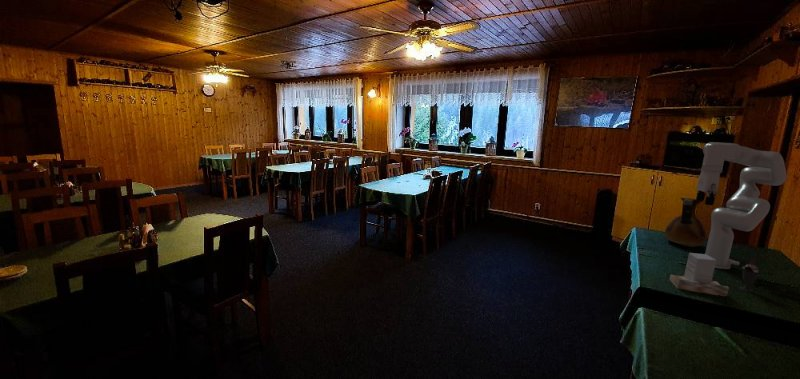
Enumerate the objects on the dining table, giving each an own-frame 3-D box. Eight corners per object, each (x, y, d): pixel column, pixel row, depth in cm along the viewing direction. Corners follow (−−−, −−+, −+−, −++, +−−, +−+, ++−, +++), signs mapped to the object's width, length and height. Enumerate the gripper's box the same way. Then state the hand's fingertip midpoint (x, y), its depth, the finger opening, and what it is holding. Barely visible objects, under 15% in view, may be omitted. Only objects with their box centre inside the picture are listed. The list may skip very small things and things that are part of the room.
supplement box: (701, 278, 162) (706, 254, 160) (711, 286, 155) (717, 260, 152) (683, 276, 164) (688, 252, 161) (692, 284, 157) (698, 258, 154)
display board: (715, 286, 160) (717, 277, 159) (726, 296, 151) (729, 287, 150) (669, 279, 166) (671, 270, 166) (677, 288, 157) (679, 279, 156)
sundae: (750, 287, 160) (758, 258, 157) (759, 294, 154) (768, 263, 151) (732, 285, 162) (740, 255, 159) (741, 291, 156) (749, 261, 153)
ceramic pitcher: (704, 244, 216) (714, 198, 209) (702, 253, 201) (713, 204, 195) (665, 236, 229) (674, 193, 222) (661, 244, 214) (670, 198, 208)
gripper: (694, 166, 176) (687, 198, 180) (710, 170, 160) (702, 205, 164) (712, 167, 173) (705, 199, 177) (730, 171, 158) (722, 207, 161)
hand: (704, 202), depth 170 cm, fingers open, 9 cm apart
